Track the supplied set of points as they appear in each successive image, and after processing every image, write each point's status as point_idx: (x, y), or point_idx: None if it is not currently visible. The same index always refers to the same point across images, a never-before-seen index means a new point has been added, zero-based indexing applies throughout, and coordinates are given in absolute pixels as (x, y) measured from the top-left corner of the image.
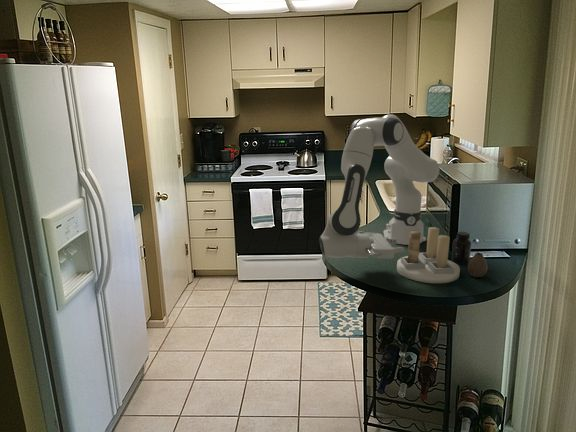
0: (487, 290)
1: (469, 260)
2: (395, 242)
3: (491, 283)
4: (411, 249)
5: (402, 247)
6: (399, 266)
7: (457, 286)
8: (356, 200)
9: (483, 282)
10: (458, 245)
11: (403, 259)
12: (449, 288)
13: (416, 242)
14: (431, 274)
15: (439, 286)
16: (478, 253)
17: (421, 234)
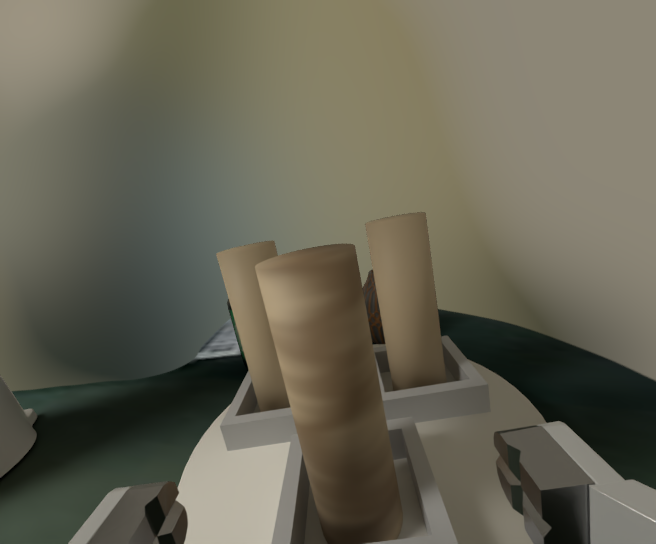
0: (510, 326)
1: (374, 305)
2: (172, 521)
3: (443, 321)
4: (370, 404)
5: (553, 431)
6: None
7: (523, 377)
8: None
9: (442, 330)
10: None
11: None
12: (574, 400)
13: (367, 319)
14: (509, 425)
15: (578, 433)
16: (368, 274)
17: (14, 402)
